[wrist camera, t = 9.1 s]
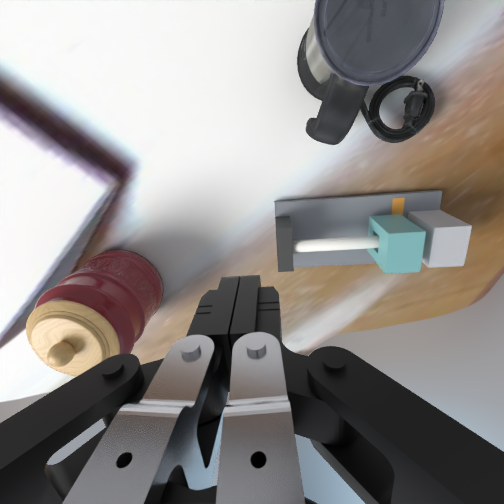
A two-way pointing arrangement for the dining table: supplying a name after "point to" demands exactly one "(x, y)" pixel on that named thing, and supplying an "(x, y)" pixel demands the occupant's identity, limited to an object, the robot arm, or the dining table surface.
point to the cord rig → (363, 229)
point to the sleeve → (396, 243)
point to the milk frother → (366, 63)
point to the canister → (95, 312)
